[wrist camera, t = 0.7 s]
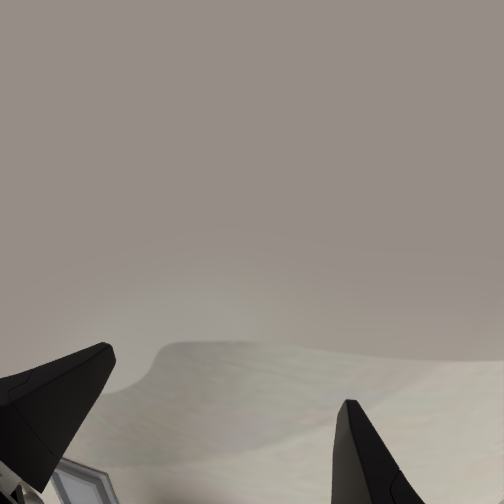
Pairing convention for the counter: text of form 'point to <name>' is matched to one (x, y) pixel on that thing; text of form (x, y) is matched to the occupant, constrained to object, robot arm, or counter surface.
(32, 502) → the metal cylinder
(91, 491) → the holder
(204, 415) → the counter surface
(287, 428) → the counter surface
